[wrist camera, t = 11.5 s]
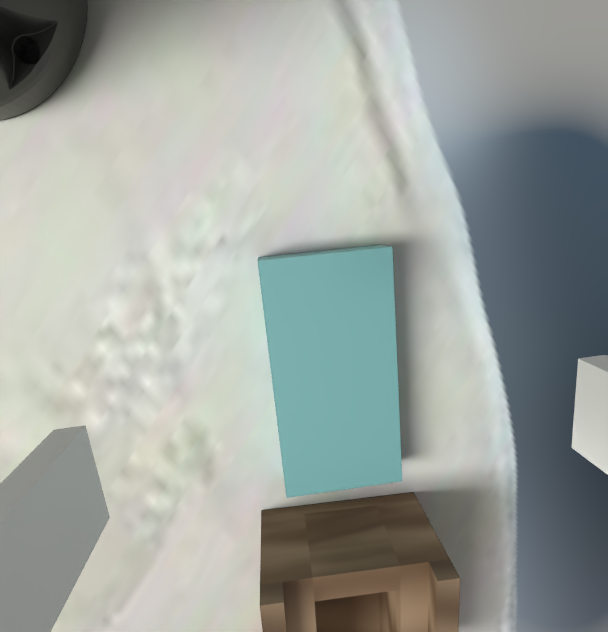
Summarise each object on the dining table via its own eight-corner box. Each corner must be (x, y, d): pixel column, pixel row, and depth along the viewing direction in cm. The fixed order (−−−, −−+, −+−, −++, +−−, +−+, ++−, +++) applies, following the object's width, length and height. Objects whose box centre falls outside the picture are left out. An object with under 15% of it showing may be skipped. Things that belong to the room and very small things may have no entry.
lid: (258, 256, 29) (257, 260, 26) (380, 244, 30) (392, 246, 27) (284, 473, 33) (286, 497, 30) (390, 458, 34) (402, 481, 31)
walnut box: (261, 510, 33) (259, 605, 25) (413, 492, 34) (460, 578, 26) (277, 658, 37) (280, 782, 29) (413, 637, 38) (454, 753, 30)
